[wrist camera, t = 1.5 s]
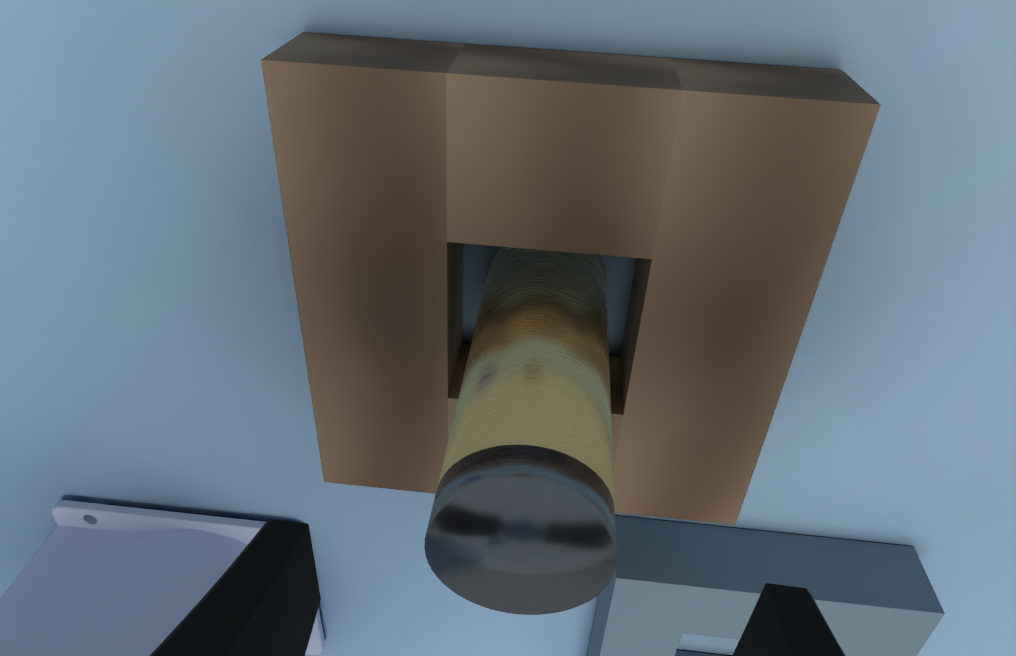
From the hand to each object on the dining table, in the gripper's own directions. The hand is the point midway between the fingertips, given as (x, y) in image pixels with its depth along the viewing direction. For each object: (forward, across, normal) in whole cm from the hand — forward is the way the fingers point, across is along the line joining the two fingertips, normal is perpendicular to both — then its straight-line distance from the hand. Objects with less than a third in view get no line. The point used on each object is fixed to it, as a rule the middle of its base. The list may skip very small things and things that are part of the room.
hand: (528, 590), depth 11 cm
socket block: (+10, 0, 0) cm, 10 cm away
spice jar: (+10, 0, 0) cm, 10 cm away
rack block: (+9, -8, +14) cm, 19 cm away
